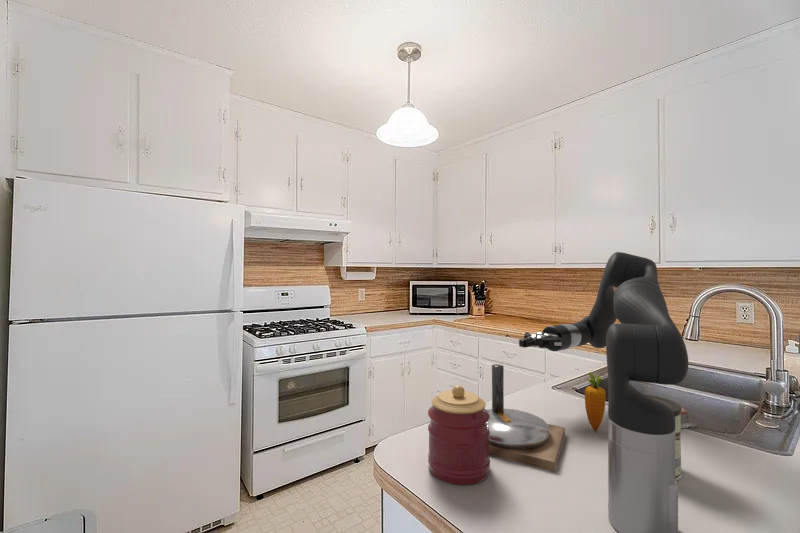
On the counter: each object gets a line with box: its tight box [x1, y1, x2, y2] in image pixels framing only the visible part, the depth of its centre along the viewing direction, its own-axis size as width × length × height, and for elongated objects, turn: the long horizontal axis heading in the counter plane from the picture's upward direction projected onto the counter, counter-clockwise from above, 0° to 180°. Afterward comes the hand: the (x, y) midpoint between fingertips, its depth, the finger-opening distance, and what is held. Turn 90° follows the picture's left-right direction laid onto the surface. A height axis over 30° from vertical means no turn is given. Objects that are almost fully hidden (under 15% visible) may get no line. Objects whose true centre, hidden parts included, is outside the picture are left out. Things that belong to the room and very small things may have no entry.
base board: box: [489, 423, 566, 472], centre depth 90 cm, size 23×19×2 cm
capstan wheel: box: [486, 363, 549, 449], centre depth 90 cm, size 18×18×14 cm
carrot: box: [584, 371, 606, 432], centre depth 95 cm, size 5×5×15 cm
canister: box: [427, 384, 491, 486], centre depth 78 cm, size 13×13×18 cm
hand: (521, 343), depth 102 cm, fingers closed
